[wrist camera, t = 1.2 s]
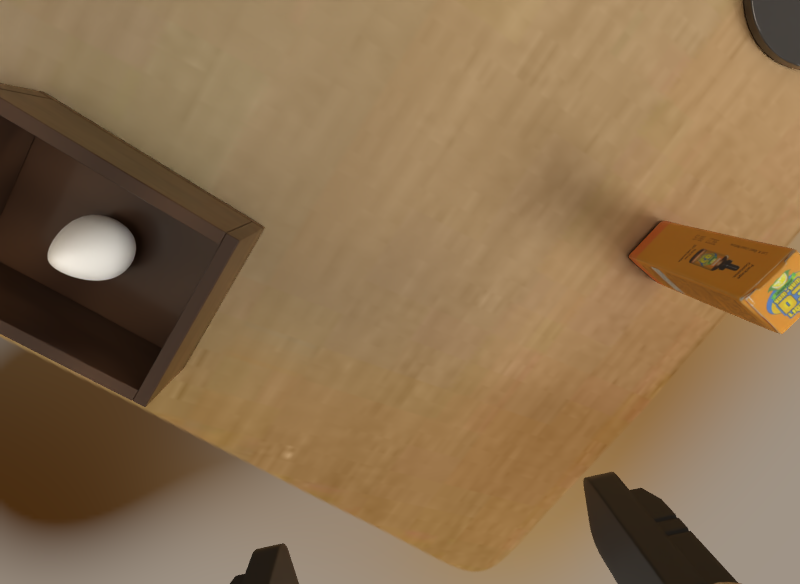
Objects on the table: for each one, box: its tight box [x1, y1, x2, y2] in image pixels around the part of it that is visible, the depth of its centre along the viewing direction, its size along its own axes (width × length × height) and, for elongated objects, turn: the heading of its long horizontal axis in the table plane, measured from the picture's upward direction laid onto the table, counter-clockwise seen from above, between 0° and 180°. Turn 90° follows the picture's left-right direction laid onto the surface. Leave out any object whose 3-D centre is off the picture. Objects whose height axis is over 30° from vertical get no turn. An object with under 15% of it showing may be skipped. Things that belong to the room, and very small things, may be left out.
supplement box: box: [629, 221, 800, 334], centre depth 26 cm, size 3×3×10 cm
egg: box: [47, 215, 136, 281], centre depth 26 cm, size 4×4×6 cm
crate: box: [0, 83, 265, 407], centre depth 27 cm, size 15×12×5 cm
